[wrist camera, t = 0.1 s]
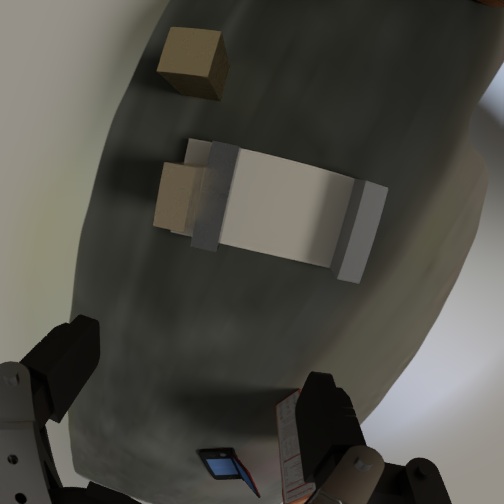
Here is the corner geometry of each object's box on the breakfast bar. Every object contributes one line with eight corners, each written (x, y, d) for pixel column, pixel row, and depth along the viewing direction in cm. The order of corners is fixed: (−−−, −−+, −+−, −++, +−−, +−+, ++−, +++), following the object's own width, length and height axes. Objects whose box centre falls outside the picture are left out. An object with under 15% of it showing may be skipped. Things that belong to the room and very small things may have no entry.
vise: (190, 138, 35) (181, 135, 31) (372, 184, 37) (388, 188, 32) (172, 230, 39) (161, 239, 34) (347, 270, 40) (359, 283, 35)
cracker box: (347, 418, 48) (375, 508, 28) (322, 434, 50) (341, 523, 29) (300, 385, 46) (320, 492, 26) (273, 404, 47) (281, 508, 27)
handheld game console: (197, 448, 51) (193, 475, 44) (250, 444, 51) (249, 473, 44) (214, 476, 55) (211, 501, 48) (260, 473, 54) (261, 499, 47)
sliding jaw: (193, 138, 34) (171, 129, 25) (241, 148, 35) (236, 141, 25) (174, 232, 38) (148, 255, 28) (220, 243, 38) (208, 269, 28)
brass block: (192, 60, 32) (171, 27, 22) (230, 66, 33) (221, 31, 22) (182, 95, 34) (156, 71, 23) (220, 101, 34) (207, 76, 24)
